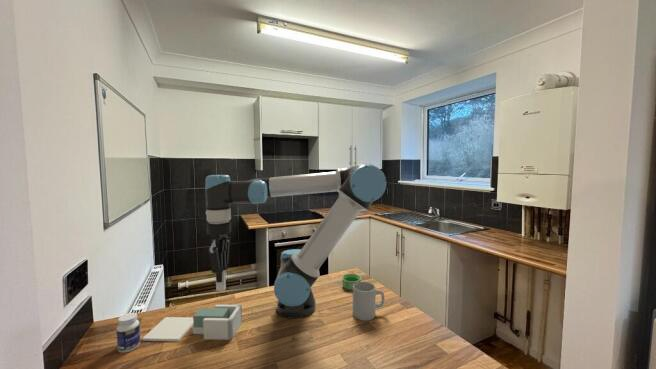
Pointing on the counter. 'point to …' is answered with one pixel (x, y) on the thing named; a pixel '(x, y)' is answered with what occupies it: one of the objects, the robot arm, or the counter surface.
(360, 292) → the mug
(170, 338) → the plate
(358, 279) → the ramekin
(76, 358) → the counter surface
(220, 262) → the robot arm
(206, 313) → the bar
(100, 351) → the counter surface
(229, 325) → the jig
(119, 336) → the pill bottle
